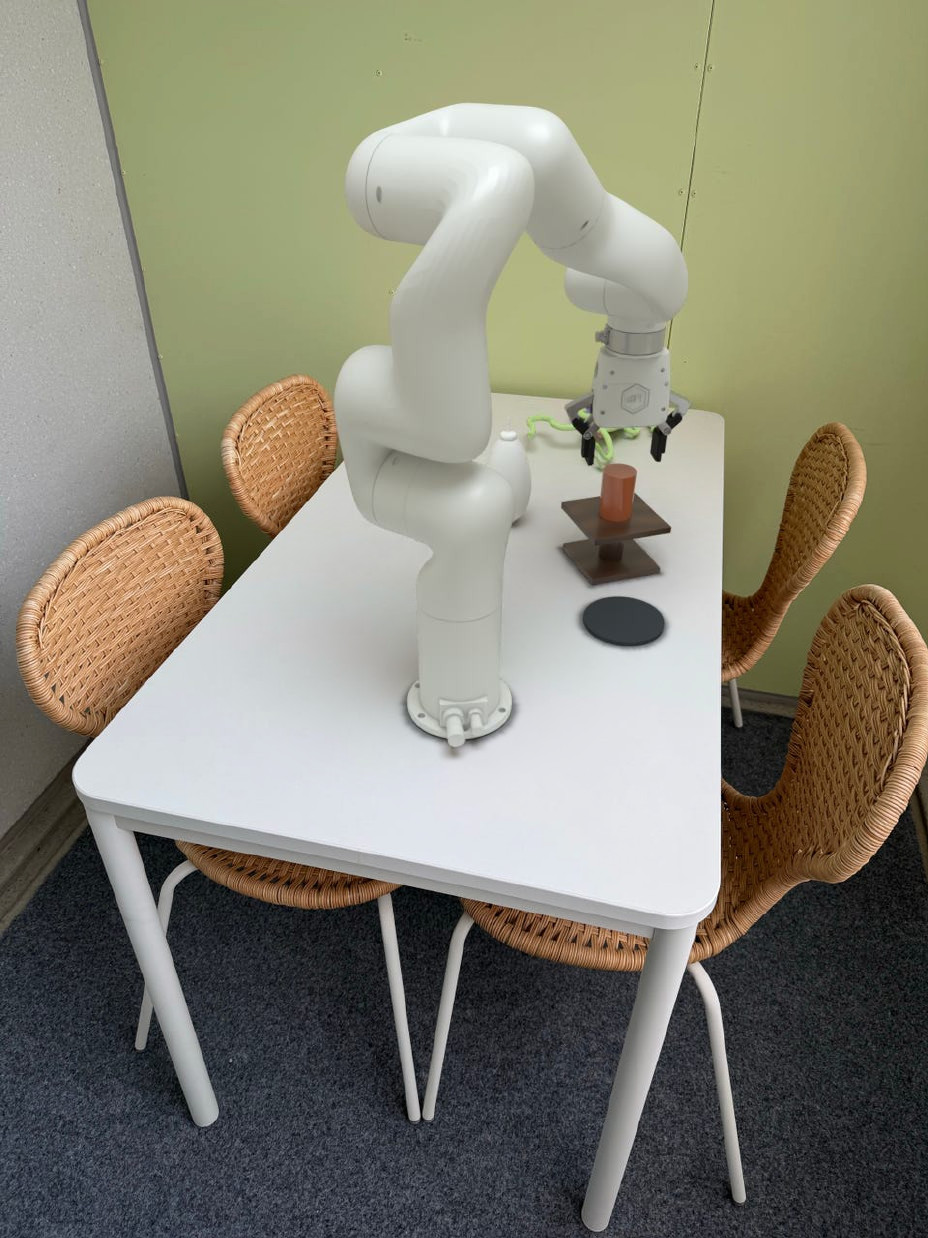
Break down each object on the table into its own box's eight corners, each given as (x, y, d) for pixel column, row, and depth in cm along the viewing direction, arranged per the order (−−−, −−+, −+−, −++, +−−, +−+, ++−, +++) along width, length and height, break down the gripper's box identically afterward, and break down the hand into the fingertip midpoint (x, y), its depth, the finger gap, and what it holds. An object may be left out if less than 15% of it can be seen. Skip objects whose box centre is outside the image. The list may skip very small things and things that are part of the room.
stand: (664, 574, 129) (671, 527, 124) (590, 587, 126) (595, 539, 121) (627, 536, 138) (633, 490, 134) (557, 547, 135) (561, 501, 131)
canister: (635, 521, 126) (640, 477, 122) (602, 522, 125) (607, 478, 121) (626, 505, 130) (632, 462, 126) (595, 507, 129) (599, 463, 125)
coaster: (674, 643, 115) (675, 639, 114) (592, 648, 114) (593, 644, 114) (651, 597, 124) (651, 594, 123) (575, 601, 123) (575, 598, 123)
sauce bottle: (528, 509, 145) (533, 406, 135) (530, 532, 139) (535, 426, 129) (482, 509, 146) (483, 406, 135) (481, 532, 139) (483, 426, 129)
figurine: (511, 449, 165) (512, 421, 162) (589, 408, 182) (591, 382, 179) (593, 476, 156) (596, 447, 153) (667, 431, 172) (671, 403, 169)
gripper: (575, 351, 109) (567, 474, 119) (709, 345, 110) (689, 468, 120) (563, 332, 115) (556, 451, 125) (690, 327, 116) (673, 445, 126)
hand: (622, 459), depth 123 cm, fingers open, 9 cm apart
